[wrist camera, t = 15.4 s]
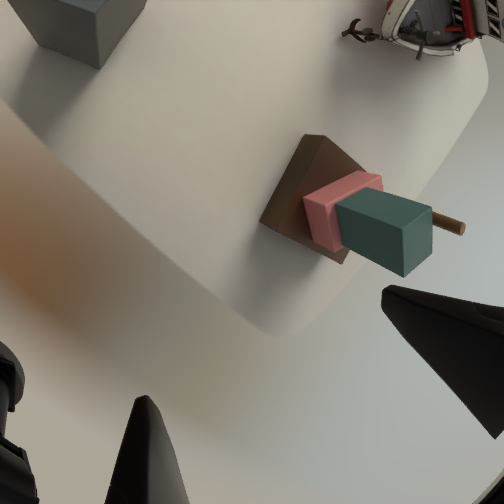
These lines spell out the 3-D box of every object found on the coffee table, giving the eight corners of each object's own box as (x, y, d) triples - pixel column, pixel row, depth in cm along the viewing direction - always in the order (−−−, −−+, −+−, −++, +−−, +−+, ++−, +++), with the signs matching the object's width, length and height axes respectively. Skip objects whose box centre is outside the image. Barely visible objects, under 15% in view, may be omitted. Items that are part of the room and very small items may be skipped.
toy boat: (462, 19, 26) (562, 60, 15) (330, 86, 27) (481, 161, 16) (445, -55, 16) (557, -27, 5) (281, -27, 17) (474, -27, 6)
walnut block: (323, 254, 27) (342, 265, 24) (258, 221, 23) (275, 231, 20) (361, 180, 26) (381, 185, 24) (304, 133, 22) (325, 135, 20)
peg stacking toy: (312, 241, 22) (415, 299, 14) (301, 197, 20) (416, 242, 13) (364, 211, 24) (464, 251, 16) (357, 169, 22) (467, 199, 14)
